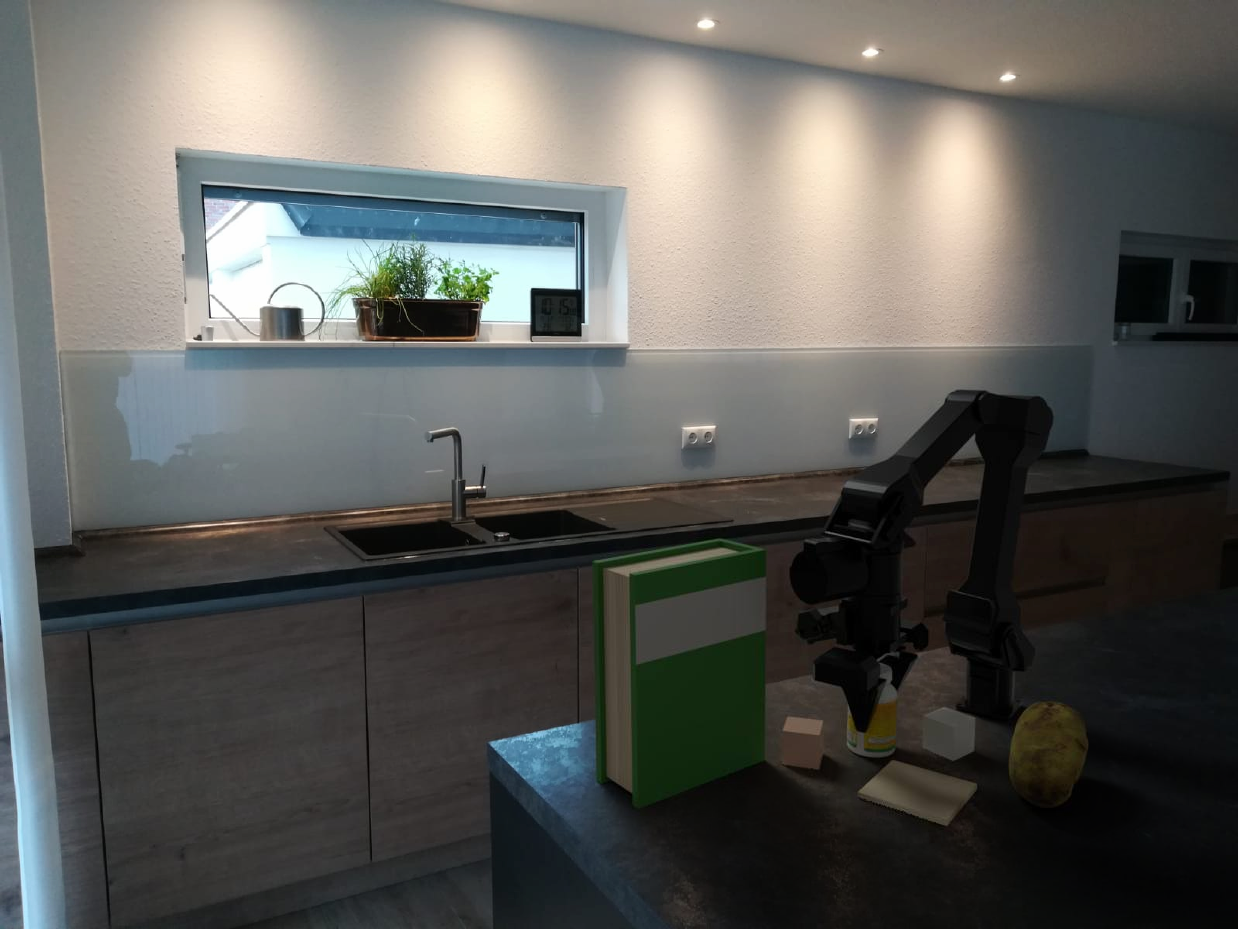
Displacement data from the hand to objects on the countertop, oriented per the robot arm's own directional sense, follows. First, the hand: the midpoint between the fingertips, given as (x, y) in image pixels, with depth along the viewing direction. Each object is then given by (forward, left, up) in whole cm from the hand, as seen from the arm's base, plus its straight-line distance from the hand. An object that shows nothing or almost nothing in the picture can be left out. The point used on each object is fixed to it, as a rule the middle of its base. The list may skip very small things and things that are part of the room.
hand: (871, 723), depth 101 cm
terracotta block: (+7, -5, -3) cm, 9 cm away
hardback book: (+17, -14, -3) cm, 23 cm away
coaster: (+7, +8, -3) cm, 11 cm away
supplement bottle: (0, 0, -3) cm, 3 cm away
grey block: (-5, +7, -3) cm, 9 cm away
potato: (-2, +18, -3) cm, 18 cm away
